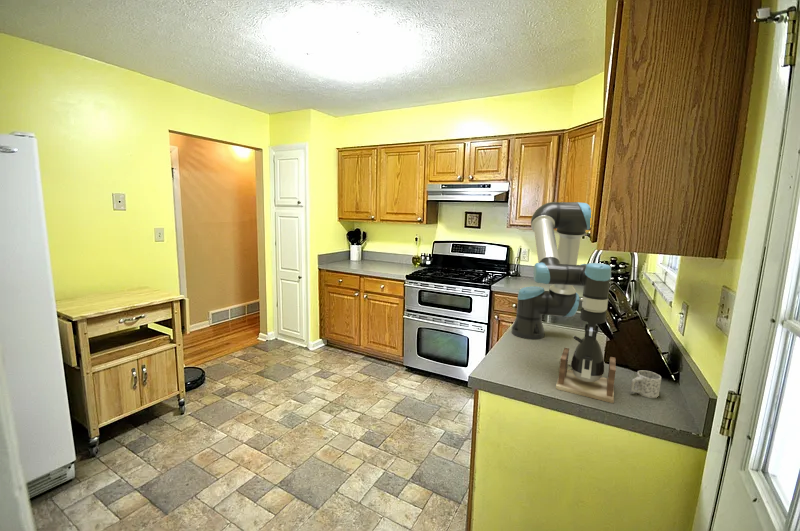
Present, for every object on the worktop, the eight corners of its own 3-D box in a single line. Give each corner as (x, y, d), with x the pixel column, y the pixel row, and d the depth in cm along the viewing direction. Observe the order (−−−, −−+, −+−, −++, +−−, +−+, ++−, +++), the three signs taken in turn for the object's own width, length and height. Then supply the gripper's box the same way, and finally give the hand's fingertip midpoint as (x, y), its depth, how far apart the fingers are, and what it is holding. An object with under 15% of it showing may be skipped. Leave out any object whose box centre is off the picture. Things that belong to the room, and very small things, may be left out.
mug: (646, 387, 124) (648, 369, 123) (663, 397, 118) (666, 378, 117) (621, 389, 122) (624, 371, 121) (638, 400, 116) (641, 380, 115)
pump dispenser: (573, 369, 131) (577, 329, 129) (605, 378, 125) (610, 336, 122) (565, 379, 123) (570, 337, 121) (599, 389, 117) (604, 345, 114)
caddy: (561, 371, 135) (564, 345, 134) (613, 383, 127) (616, 355, 125) (555, 388, 122) (558, 360, 120) (613, 403, 113) (617, 373, 112)
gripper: (583, 300, 131) (577, 357, 135) (578, 315, 112) (571, 381, 116) (606, 303, 128) (600, 362, 131) (605, 320, 108) (597, 387, 112)
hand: (586, 371), depth 123 cm, fingers closed on pump dispenser, 10 cm apart
